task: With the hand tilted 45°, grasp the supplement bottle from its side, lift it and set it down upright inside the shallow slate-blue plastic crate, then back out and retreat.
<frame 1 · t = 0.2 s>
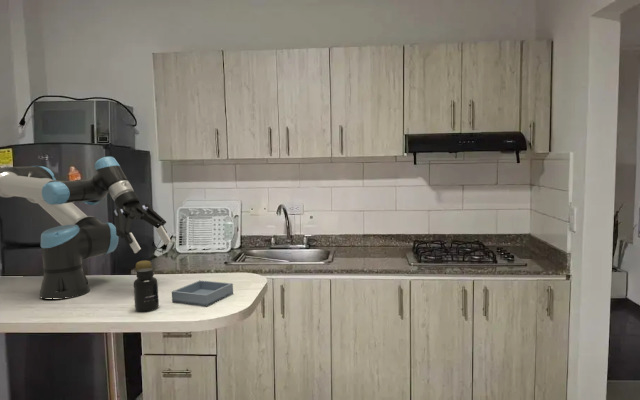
hand: (153, 246, 155), 15 cm above the table, tool tilted 35°, fingers open, 13 cm apart
crate: (203, 298, 145), on the table
cork: (145, 293, 154), on the table
supplement bottle: (147, 309, 137), on the table
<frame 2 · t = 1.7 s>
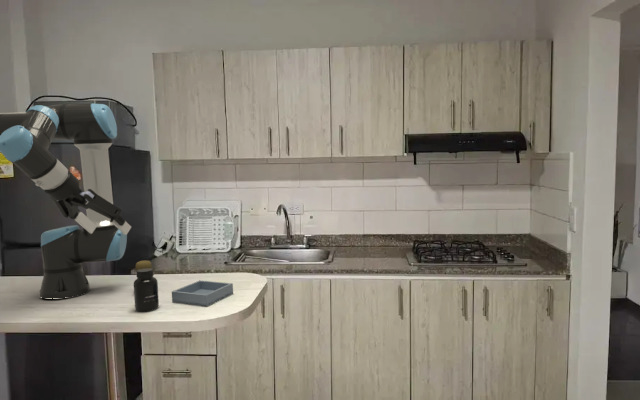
hand: (110, 230, 128), 25 cm above the table, tool tilted 45°, fingers open, 13 cm apart
nothing on the table moved.
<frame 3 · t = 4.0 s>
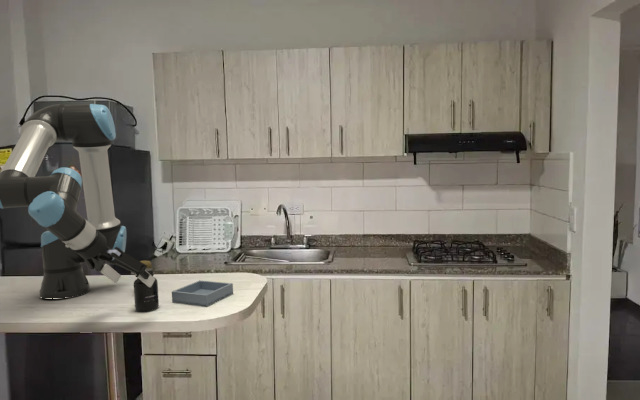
hand: (134, 281, 131), 10 cm above the table, tool tilted 45°, fingers open, 13 cm apart
nothing on the table moved.
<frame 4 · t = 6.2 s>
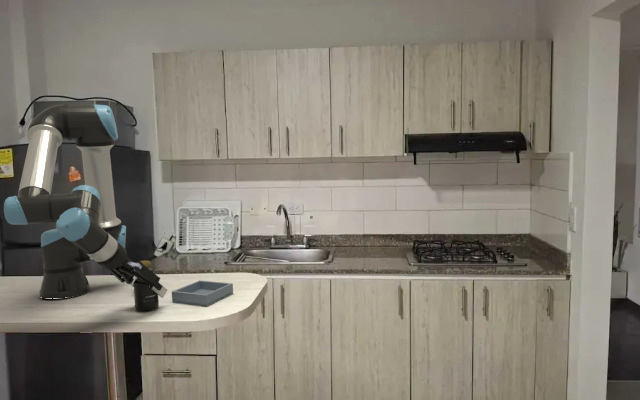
hand: (155, 292, 139), 4 cm above the table, tool tilted 45°, fingers closed on supplement bottle, 7 cm apart
supplement bottle: (147, 309, 137), on the table, touching gripper
everything else where it was.
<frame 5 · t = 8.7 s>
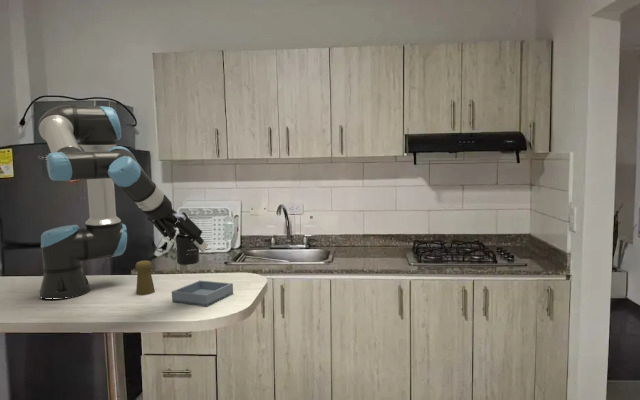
hand: (195, 248, 143), 16 cm above the table, tool tilted 45°, fingers closed on supplement bottle, 7 cm apart
supplement bottle: (188, 263, 141), point 12 cm above the table, touching gripper
everything else where it was.
when the fingers open (6 cm above the table, at t = 11.3 s): supplement bottle drops 2 cm, resting on crate.
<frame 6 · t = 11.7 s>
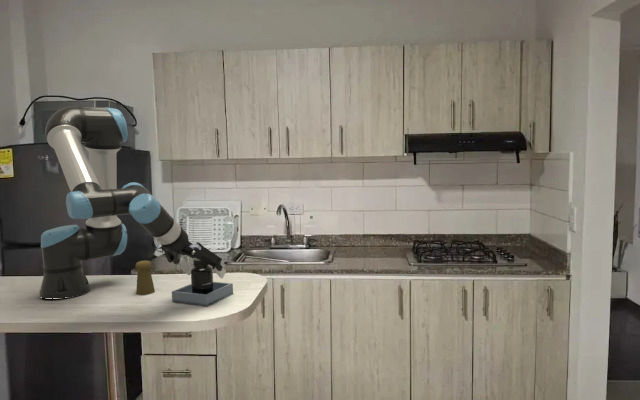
hand: (206, 273, 147), 8 cm above the table, tool tilted 45°, fingers open, 13 cm apart
supplement bottle: (203, 296, 145), point 1 cm above the table, touching crate
everything else where it was.
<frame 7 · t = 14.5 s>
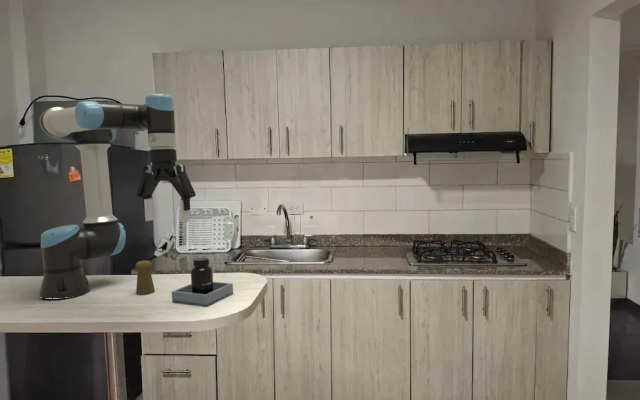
hand: (167, 221, 132), 27 cm above the table, tool pointing down, fingers open, 13 cm apart
nothing on the table moved.
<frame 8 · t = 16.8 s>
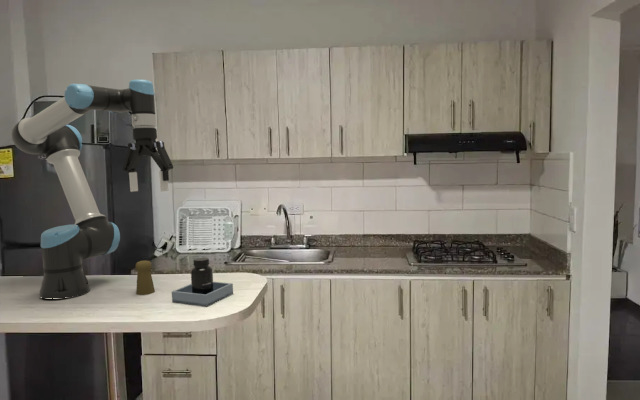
hand: (149, 191, 152), 35 cm above the table, tool pointing down, fingers open, 13 cm apart
nothing on the table moved.
at the end: supplement bottle inside the target area on the crate (0.1 cm from its centre), point 0.6 cm above the crate's base; supplement bottle tilted 0°; the gripper is holding nothing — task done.
